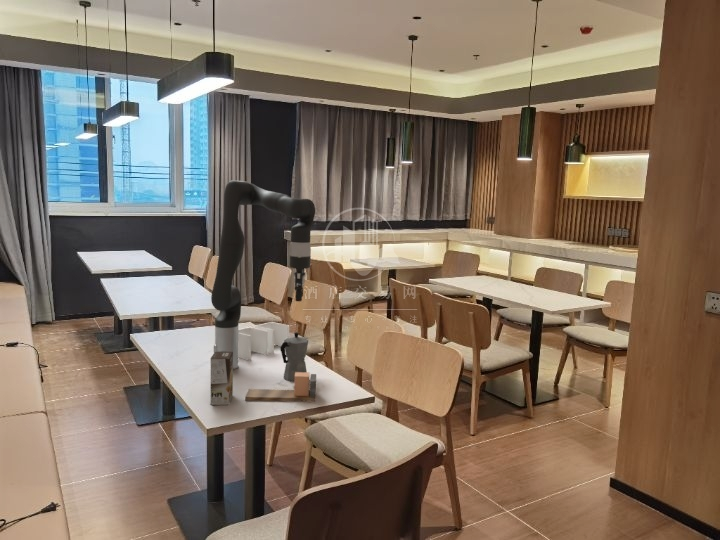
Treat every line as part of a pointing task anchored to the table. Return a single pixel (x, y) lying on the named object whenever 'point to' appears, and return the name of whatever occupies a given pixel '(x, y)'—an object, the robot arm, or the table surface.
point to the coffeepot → (294, 356)
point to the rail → (282, 394)
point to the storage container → (261, 339)
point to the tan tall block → (301, 384)
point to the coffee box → (221, 378)
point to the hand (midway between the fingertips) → (299, 298)
